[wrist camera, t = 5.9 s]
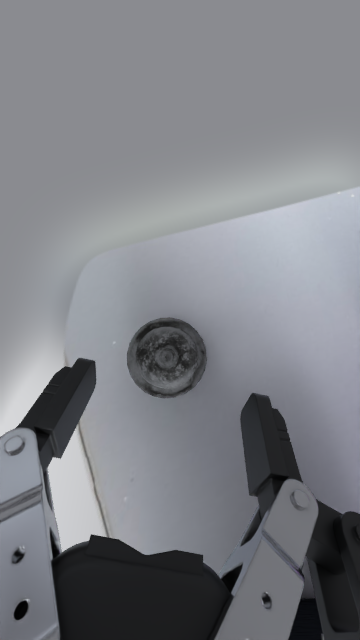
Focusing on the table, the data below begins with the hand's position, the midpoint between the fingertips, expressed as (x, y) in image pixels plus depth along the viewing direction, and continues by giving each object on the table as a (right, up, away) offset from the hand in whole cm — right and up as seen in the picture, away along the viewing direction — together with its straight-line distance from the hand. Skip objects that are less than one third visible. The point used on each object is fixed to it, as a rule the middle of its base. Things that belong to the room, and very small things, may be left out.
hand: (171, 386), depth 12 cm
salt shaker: (-1, 0, +9) cm, 9 cm away
